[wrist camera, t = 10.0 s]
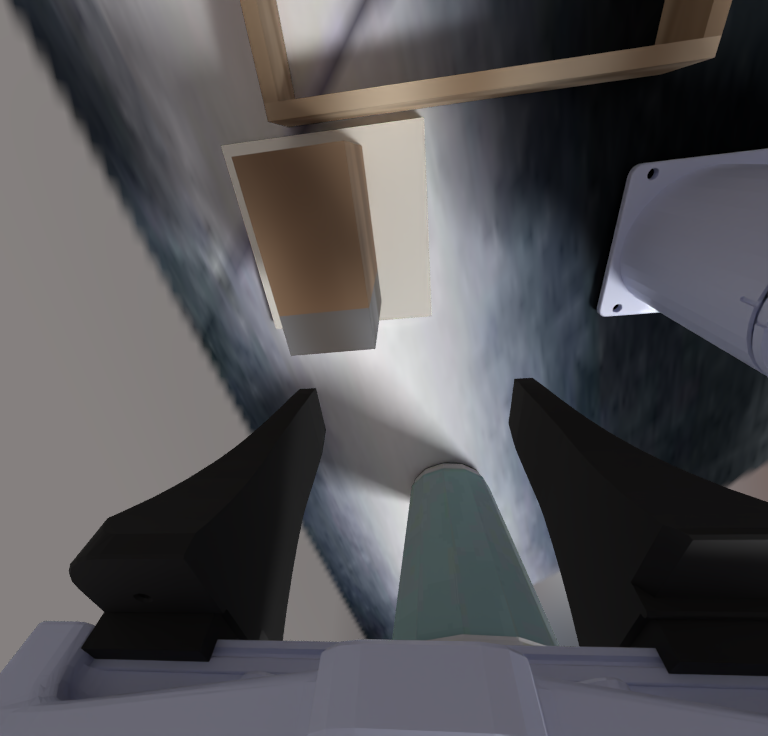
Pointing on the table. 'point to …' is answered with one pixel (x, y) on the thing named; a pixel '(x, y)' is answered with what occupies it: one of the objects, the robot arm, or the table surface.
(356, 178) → the block
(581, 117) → the table surface
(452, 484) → the disposable coffee cup
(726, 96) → the table surface
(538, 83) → the frame
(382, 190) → the pad
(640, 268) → the robot arm
